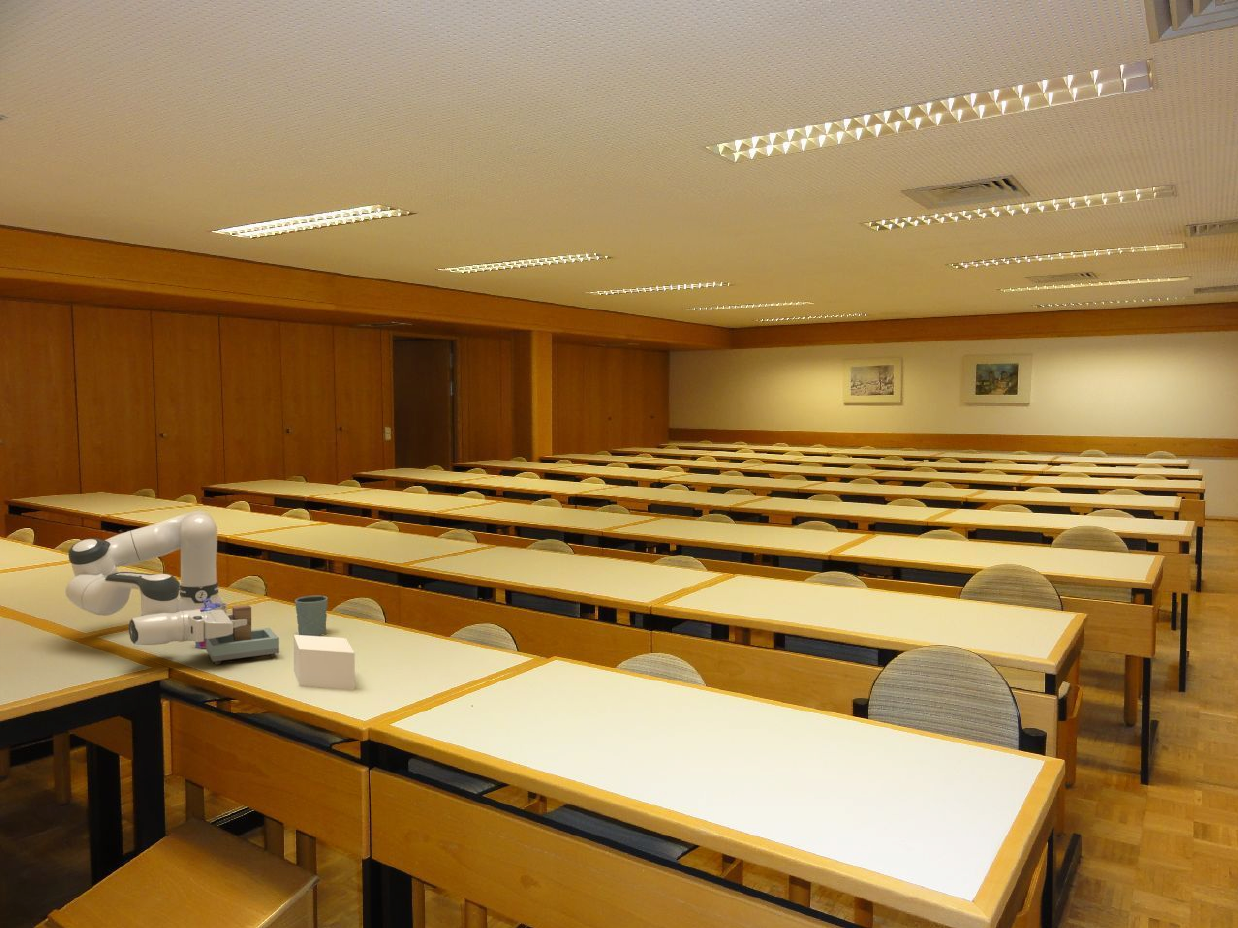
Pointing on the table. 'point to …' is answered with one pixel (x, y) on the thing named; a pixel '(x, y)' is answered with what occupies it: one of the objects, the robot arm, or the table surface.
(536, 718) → the table surface
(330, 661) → the white rectangular block
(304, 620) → the grey tapered cup
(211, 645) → the grey storage tray
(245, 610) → the walnut part
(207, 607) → the ink cartridge box
